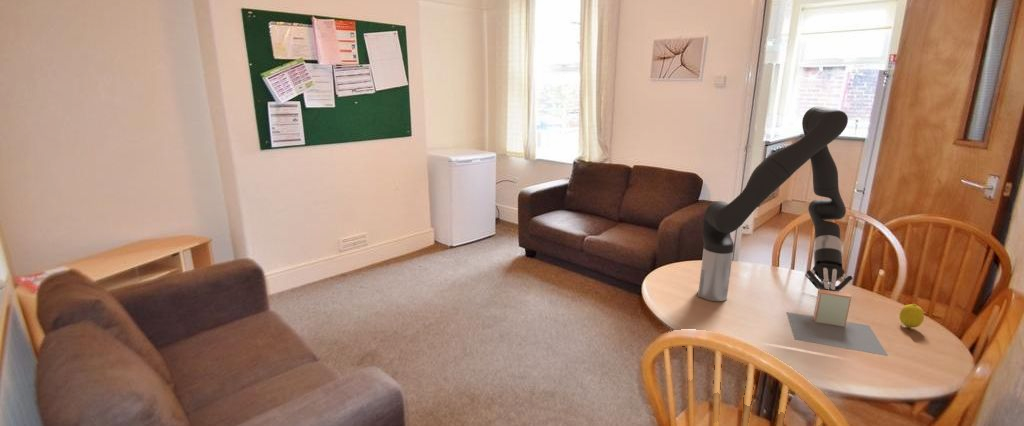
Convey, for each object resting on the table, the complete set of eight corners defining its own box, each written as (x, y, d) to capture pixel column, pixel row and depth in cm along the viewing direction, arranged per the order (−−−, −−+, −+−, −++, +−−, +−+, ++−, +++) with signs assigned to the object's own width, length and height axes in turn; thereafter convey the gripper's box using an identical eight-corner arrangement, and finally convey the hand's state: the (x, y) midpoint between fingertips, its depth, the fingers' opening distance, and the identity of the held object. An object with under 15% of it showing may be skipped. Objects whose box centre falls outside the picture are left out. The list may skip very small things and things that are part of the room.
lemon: (914, 334, 140) (921, 309, 137) (893, 326, 144) (899, 302, 142) (924, 330, 142) (930, 305, 140) (902, 322, 147) (908, 298, 145)
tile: (814, 322, 145) (820, 292, 142) (812, 318, 148) (818, 289, 145) (845, 327, 142) (851, 297, 139) (843, 323, 145) (849, 293, 142)
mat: (794, 341, 136) (794, 339, 136) (786, 313, 152) (786, 312, 152) (887, 357, 128) (888, 355, 128) (868, 327, 144) (869, 325, 144)
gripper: (807, 244, 154) (807, 294, 146) (855, 250, 149) (858, 301, 141) (801, 254, 160) (801, 302, 152) (848, 260, 155) (850, 310, 148)
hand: (829, 302), depth 147 cm, fingers closed
